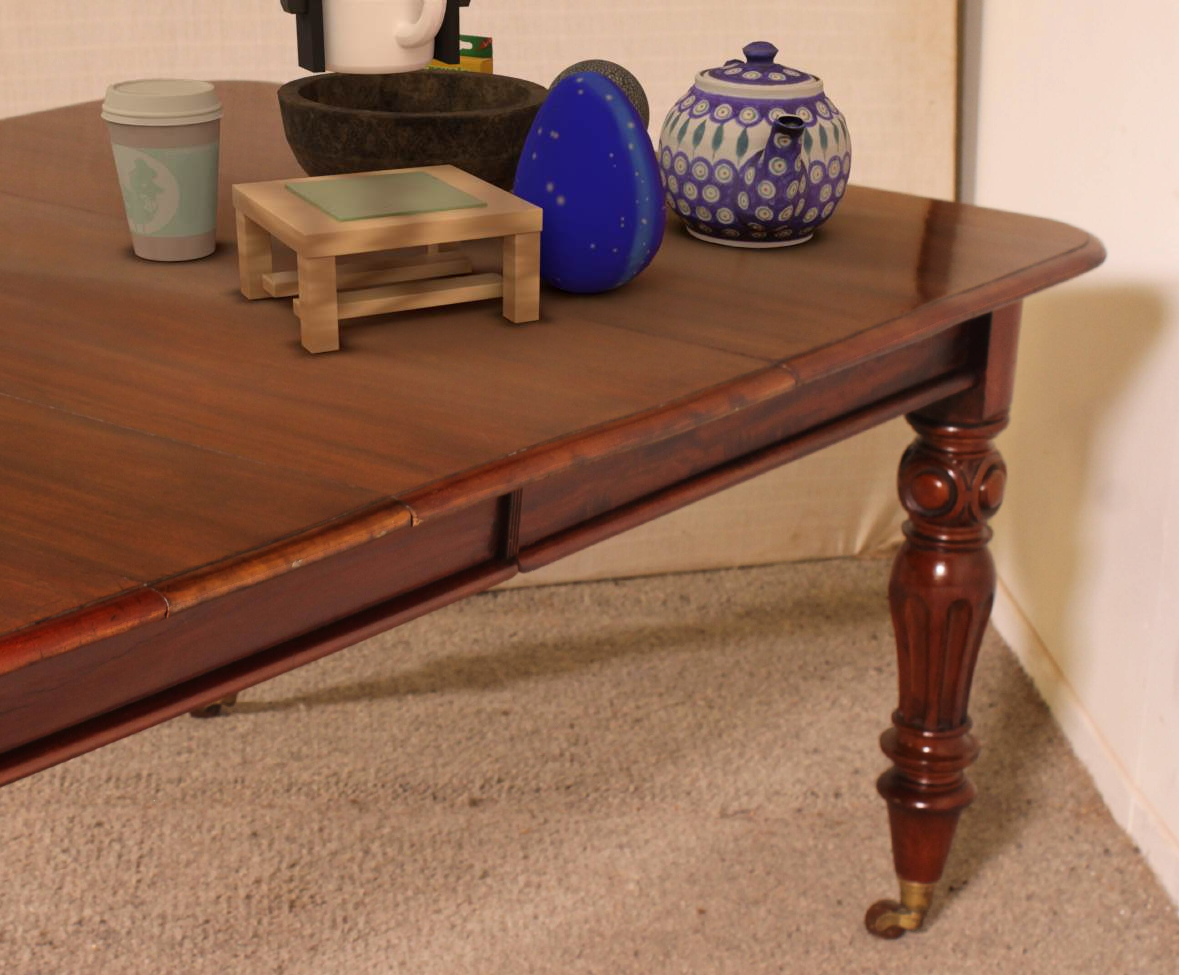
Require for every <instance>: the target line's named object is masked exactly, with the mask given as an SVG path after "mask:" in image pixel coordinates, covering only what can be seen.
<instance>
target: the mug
mask: <svg viewBox="0 0 1179 975" xmlns="http://www.w3.org/2000/svg"><path fill="white" fill-rule="evenodd" d="M446 2H447V0H322V8H323V29H324V51H325V72H329V73H334V72H338V73H351V74H389V73H402V72H409V71H415V70H419V69H423V68H425V67H427V66H428V65H429V64H430V62H431V61H432V59H433V55H434V37H435V36H436V34H437V33H438V31H439V29H440V27H441V24H442V22H443V19H444V14H445V10H446Z"/></svg>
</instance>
